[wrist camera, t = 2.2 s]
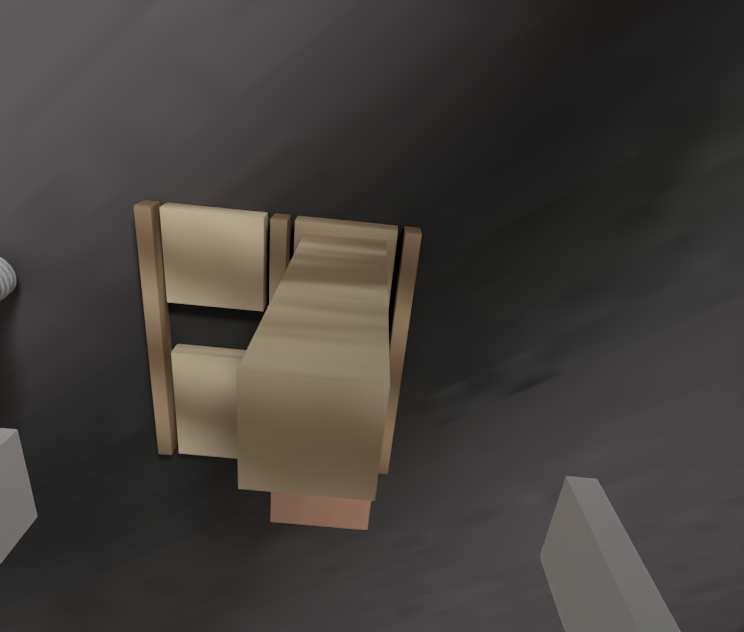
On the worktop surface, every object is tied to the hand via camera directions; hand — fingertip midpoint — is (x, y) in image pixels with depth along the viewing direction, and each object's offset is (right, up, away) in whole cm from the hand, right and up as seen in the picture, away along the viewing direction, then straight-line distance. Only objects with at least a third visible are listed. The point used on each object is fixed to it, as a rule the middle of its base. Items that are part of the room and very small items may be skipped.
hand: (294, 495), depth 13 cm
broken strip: (-7, +3, +16) cm, 18 cm away
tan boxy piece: (0, +2, +16) cm, 16 cm away
